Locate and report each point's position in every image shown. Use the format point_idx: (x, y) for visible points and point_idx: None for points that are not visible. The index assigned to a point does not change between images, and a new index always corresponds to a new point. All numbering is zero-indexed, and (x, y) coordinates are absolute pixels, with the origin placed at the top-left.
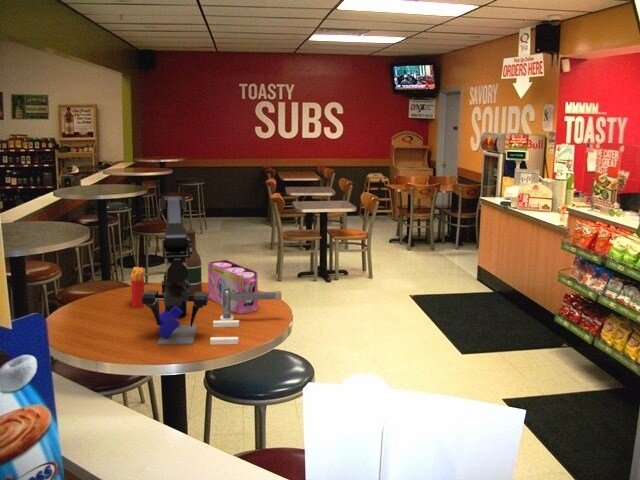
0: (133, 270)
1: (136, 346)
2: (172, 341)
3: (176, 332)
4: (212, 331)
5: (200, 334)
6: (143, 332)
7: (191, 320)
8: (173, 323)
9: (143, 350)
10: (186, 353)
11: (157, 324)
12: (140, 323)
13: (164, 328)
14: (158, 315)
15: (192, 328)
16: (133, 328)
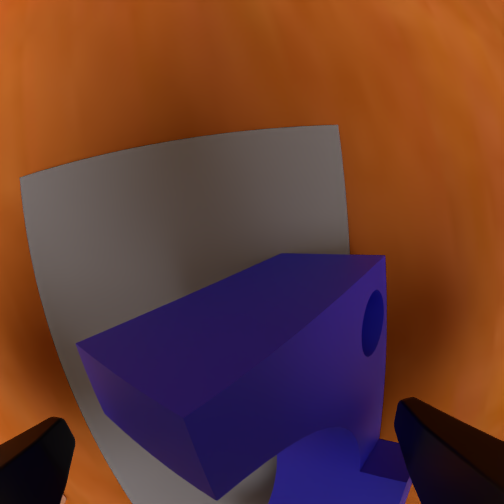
0: None
1: (470, 112)
2: (197, 191)
3: None
4: (19, 428)
5: (51, 393)
6: (458, 390)
7: (16, 448)
8: (169, 345)
9: (400, 25)
10: (57, 2)
11: (421, 401)
12: None
13: (324, 287)
14: (458, 485)
15: (137, 476)
16: (491, 422)
